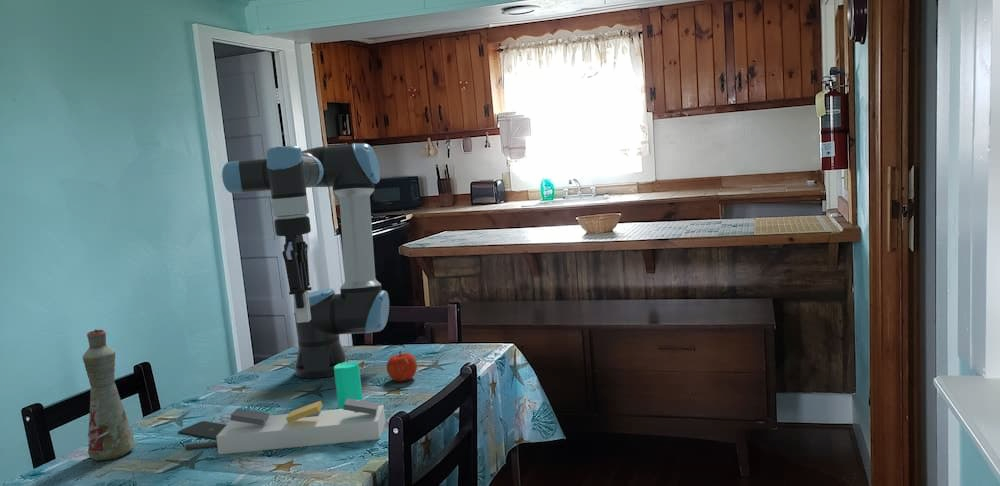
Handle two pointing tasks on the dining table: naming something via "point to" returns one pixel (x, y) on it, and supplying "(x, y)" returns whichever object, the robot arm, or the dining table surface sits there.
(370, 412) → the block
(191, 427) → the smartphone
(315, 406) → the rocker
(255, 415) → the block
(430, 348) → the dining table surface
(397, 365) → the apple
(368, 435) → the power strip
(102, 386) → the bottle
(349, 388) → the candle
